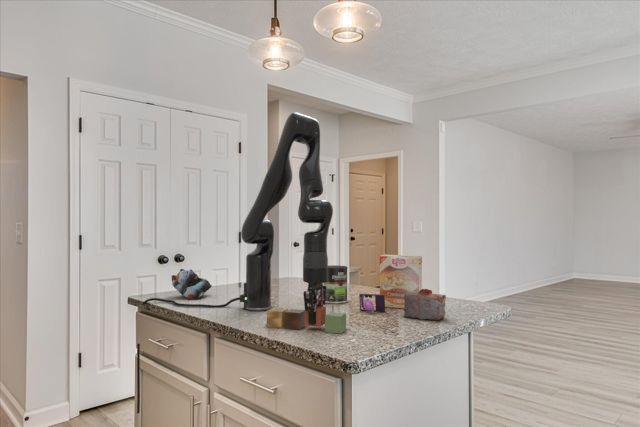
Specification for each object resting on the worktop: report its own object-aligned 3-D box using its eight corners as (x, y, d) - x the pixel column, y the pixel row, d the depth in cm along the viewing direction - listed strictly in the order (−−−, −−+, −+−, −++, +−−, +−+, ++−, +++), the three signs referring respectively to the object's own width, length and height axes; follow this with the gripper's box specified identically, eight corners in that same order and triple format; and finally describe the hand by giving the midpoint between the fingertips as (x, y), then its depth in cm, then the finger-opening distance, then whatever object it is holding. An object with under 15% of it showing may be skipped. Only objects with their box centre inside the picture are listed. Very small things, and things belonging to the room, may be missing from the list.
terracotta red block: (304, 325, 134) (304, 308, 134) (310, 321, 138) (310, 305, 138) (320, 326, 132) (320, 309, 132) (326, 323, 137) (326, 306, 137)
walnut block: (284, 328, 136) (284, 311, 136) (290, 324, 140) (291, 308, 140) (299, 329, 134) (299, 313, 134) (305, 326, 139) (305, 310, 139)
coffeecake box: (379, 306, 170) (379, 255, 170) (383, 303, 176) (383, 254, 177) (419, 310, 164) (418, 256, 164) (422, 306, 171) (422, 255, 171)
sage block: (325, 332, 131) (325, 315, 131) (330, 328, 136) (330, 311, 136) (341, 333, 130) (341, 316, 130) (346, 329, 134) (346, 313, 134)
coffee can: (352, 302, 179) (352, 267, 179) (329, 304, 174) (329, 268, 174) (339, 298, 188) (339, 264, 188) (317, 300, 183) (317, 265, 184)
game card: (384, 293, 160) (359, 292, 162) (383, 301, 155) (357, 299, 157) (385, 310, 162) (360, 309, 164) (383, 318, 157) (358, 316, 159)
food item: (448, 317, 151) (448, 288, 151) (443, 322, 144) (442, 291, 144) (408, 313, 157) (408, 285, 157) (401, 318, 150) (401, 288, 150)
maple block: (266, 326, 138) (266, 310, 138) (273, 323, 142) (273, 307, 142) (281, 328, 136) (281, 311, 136) (288, 324, 141) (288, 308, 141)
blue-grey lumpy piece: (196, 300, 181) (179, 270, 181) (177, 309, 187) (160, 280, 186) (217, 285, 195) (201, 257, 194) (199, 294, 200) (183, 267, 199)
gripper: (312, 263, 143) (312, 316, 143) (294, 267, 130) (294, 326, 130) (334, 264, 141) (334, 318, 141) (319, 268, 127) (319, 328, 127)
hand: (315, 322), depth 135 cm, fingers closed on terracotta red block, 5 cm apart
